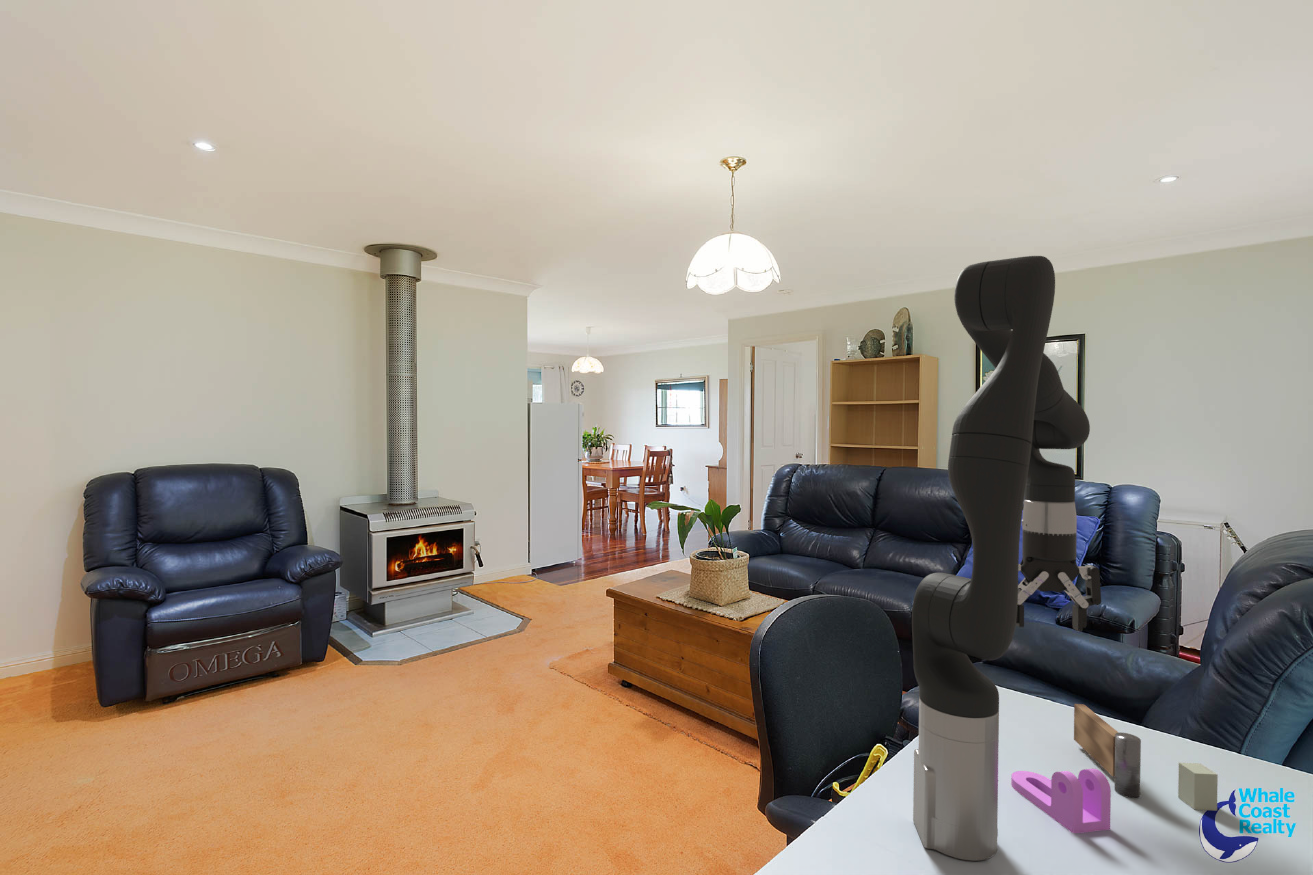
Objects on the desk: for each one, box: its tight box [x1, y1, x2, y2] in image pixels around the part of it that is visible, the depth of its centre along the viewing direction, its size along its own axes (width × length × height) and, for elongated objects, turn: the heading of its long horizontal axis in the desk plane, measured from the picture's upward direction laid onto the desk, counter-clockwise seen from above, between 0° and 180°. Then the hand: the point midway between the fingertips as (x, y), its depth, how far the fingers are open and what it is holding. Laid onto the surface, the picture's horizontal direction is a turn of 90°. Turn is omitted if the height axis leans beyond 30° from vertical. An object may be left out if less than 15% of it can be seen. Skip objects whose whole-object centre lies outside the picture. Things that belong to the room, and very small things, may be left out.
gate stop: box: [1177, 762, 1219, 811], centre depth 91 cm, size 3×3×5 cm
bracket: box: [1010, 768, 1112, 834], centre depth 90 cm, size 13×6×7 cm, turn 10°
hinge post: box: [1114, 732, 1142, 799], centre depth 93 cm, size 3×3×8 cm
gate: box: [1073, 703, 1120, 778], centre depth 102 cm, size 12×2×6 cm, turn 171°
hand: (1048, 627), depth 105 cm, fingers open, 8 cm apart
